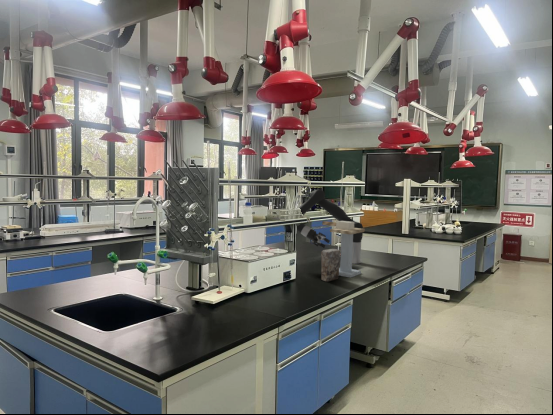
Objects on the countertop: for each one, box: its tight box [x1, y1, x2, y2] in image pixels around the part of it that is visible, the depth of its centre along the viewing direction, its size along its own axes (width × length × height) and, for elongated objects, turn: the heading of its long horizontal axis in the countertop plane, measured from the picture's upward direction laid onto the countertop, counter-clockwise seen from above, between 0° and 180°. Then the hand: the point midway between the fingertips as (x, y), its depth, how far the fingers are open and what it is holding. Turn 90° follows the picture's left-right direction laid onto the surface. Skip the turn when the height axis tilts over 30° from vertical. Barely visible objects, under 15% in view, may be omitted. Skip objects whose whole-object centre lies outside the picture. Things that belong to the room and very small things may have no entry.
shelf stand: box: [329, 227, 366, 279], centre depth 272 cm, size 16×22×32 cm
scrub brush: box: [321, 220, 354, 230], centre depth 276 cm, size 23×8×5 cm, turn 53°
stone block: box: [320, 248, 341, 282], centre depth 254 cm, size 13×7×20 cm, turn 136°
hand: (327, 244), depth 280 cm, fingers open, 8 cm apart
